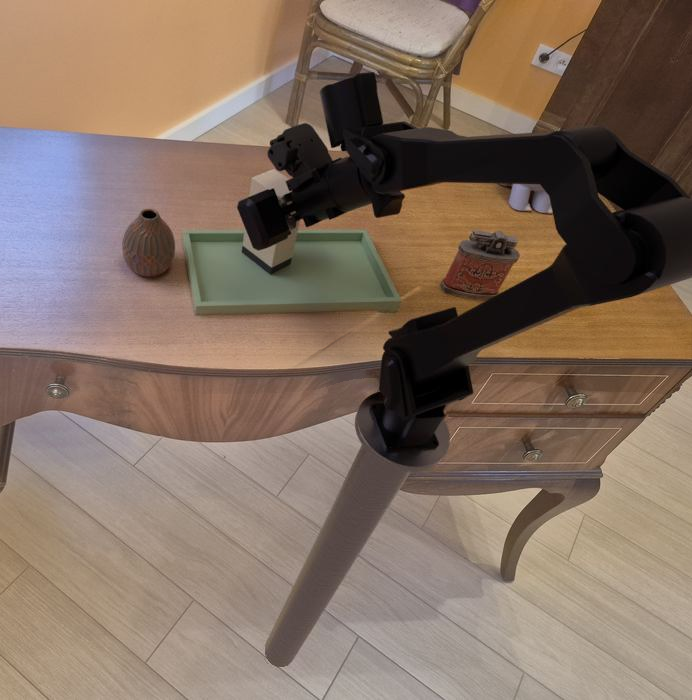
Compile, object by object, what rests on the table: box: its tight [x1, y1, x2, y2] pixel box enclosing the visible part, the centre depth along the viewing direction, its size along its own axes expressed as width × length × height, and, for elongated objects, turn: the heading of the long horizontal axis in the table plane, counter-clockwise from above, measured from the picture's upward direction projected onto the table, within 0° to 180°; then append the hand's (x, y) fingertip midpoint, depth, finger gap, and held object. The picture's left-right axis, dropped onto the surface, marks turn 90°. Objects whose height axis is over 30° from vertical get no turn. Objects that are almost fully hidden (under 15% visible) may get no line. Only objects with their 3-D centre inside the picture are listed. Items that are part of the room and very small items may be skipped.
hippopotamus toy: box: [499, 184, 553, 215], centre depth 104 cm, size 11×15×10 cm
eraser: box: [242, 168, 301, 275], centre depth 82 cm, size 6×4×12 cm, turn 41°
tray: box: [181, 229, 403, 316], centre depth 85 cm, size 16×28×2 cm, turn 99°
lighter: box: [439, 229, 520, 301], centre depth 84 cm, size 8×3×10 cm, turn 84°
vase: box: [121, 208, 176, 278], centre depth 80 cm, size 7×7×9 cm
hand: (265, 216), depth 83 cm, fingers closed on eraser, 4 cm apart
